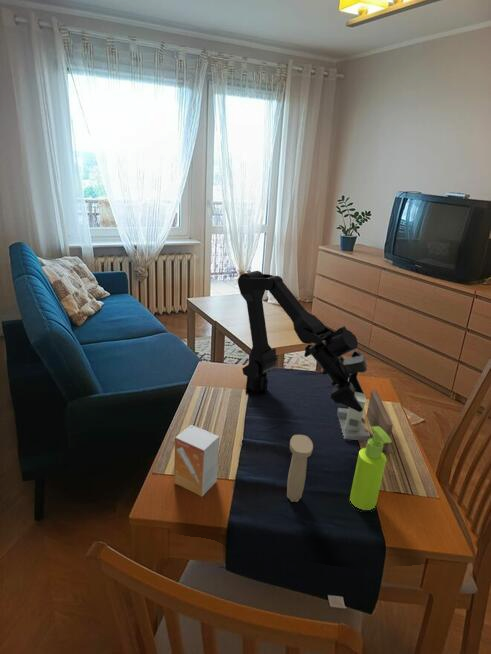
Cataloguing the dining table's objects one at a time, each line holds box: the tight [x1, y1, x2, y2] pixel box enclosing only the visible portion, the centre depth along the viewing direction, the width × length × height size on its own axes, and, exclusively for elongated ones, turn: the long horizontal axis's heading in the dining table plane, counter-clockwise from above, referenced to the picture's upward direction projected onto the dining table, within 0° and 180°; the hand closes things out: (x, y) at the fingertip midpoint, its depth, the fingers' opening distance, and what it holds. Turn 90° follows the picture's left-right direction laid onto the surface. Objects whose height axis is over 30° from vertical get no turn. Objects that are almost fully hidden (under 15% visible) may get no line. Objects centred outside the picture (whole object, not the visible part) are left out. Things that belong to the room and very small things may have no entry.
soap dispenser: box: [349, 426, 393, 510], centre depth 97 cm, size 6×7×20 cm
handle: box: [286, 434, 314, 503], centre depth 98 cm, size 5×6×15 cm
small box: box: [173, 424, 220, 498], centre depth 101 cm, size 8×6×13 cm
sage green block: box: [345, 392, 366, 431], centre depth 127 cm, size 4×6×10 cm
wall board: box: [366, 389, 394, 454], centre depth 126 cm, size 3×18×9 cm, turn 178°
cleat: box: [336, 407, 371, 443], centre depth 129 cm, size 7×14×2 cm, turn 178°
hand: (362, 403), depth 126 cm, fingers open, 9 cm apart
